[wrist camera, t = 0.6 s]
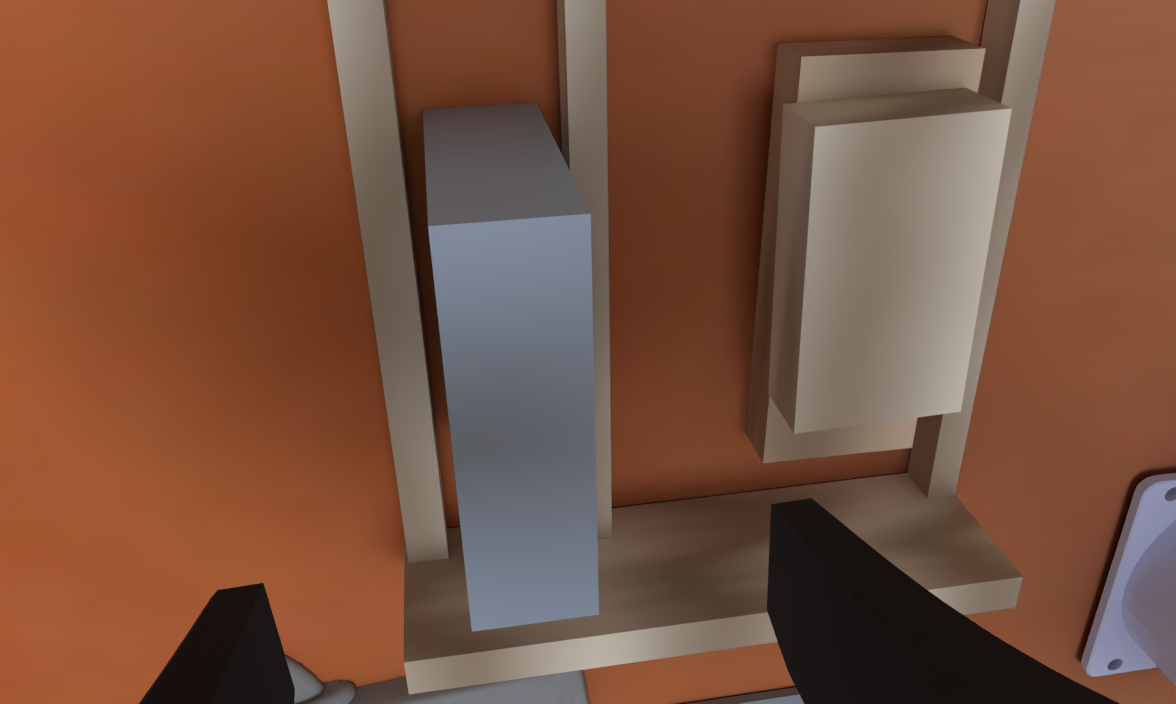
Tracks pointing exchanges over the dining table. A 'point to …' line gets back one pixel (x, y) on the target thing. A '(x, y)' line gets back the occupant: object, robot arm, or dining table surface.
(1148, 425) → the dining table surface
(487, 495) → the upright grey-blue panel
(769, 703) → the mat
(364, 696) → the grey rimmed tray
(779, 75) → the offcut long
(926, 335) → the offcut short
